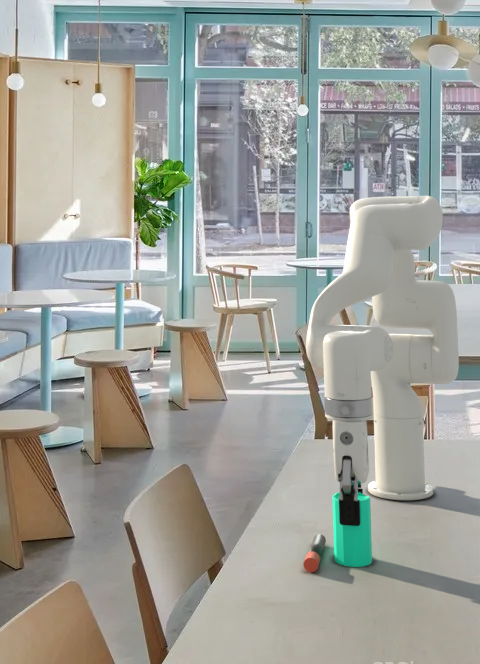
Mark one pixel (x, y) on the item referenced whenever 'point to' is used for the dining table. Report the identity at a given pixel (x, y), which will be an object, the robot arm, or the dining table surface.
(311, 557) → the marker
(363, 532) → the candle
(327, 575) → the dining table surface
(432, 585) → the dining table surface
